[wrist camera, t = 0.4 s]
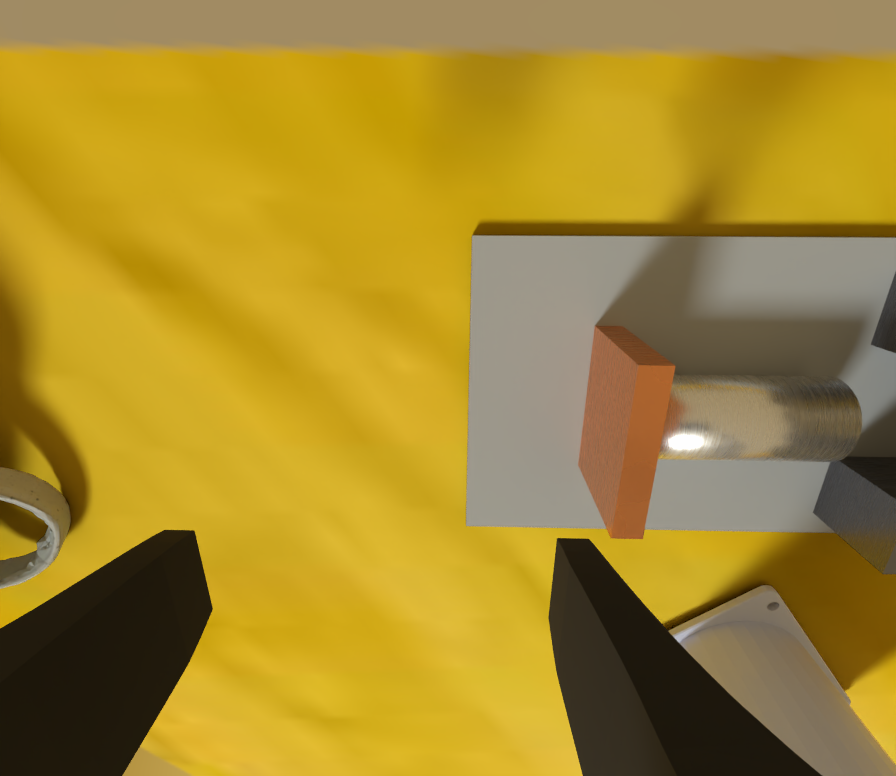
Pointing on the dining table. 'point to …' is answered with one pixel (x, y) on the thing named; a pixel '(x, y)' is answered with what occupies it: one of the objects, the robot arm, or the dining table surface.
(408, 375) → the dining table surface
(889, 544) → the hitch block
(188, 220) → the dining table surface
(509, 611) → the dining table surface
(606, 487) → the pin
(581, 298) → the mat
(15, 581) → the ceramic mug
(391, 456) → the dining table surface
